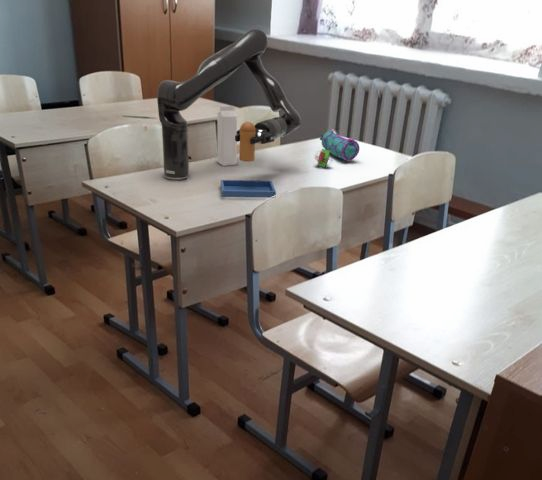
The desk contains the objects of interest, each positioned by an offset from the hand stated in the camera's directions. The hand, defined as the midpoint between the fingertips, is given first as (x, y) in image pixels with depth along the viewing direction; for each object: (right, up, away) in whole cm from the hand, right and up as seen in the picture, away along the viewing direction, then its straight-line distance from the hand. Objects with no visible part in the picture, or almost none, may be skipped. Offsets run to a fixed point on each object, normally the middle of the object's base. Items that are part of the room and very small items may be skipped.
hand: (243, 139), depth 205 cm
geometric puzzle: (+31, +4, +42) cm, 53 cm away
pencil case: (+39, +13, +57) cm, 70 cm away
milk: (-9, +4, +38) cm, 39 cm away
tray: (+1, -16, +8) cm, 18 cm away
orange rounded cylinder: (+1, -5, +6) cm, 8 cm away
